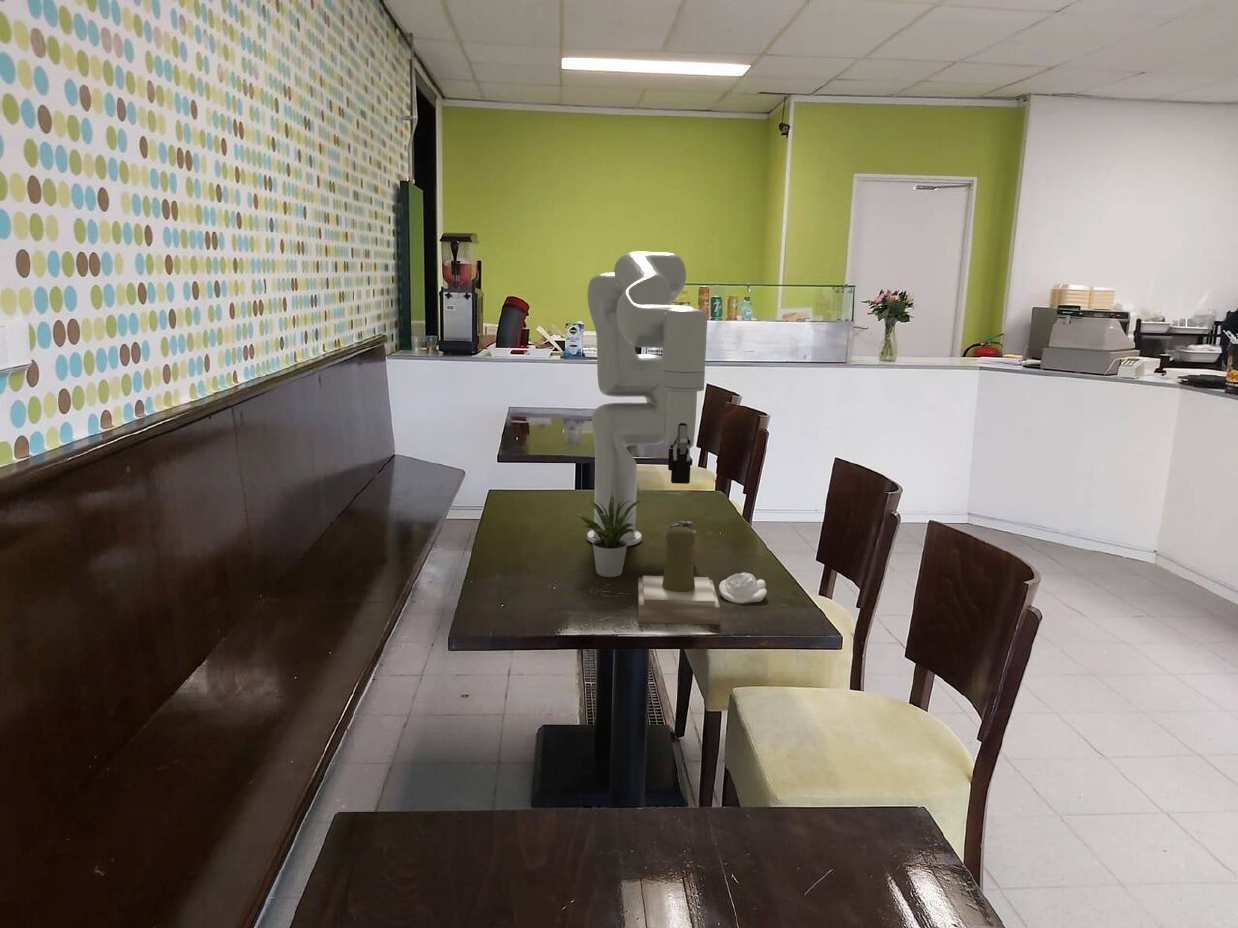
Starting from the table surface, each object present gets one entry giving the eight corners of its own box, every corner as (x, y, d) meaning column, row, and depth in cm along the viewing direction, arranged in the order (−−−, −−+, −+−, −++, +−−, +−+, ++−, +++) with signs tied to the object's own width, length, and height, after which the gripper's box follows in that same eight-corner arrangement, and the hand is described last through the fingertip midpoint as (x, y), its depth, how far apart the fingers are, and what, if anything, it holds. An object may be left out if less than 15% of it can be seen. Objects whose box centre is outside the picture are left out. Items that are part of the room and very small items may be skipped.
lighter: (686, 562, 184) (688, 516, 182) (698, 566, 182) (700, 520, 180) (661, 570, 178) (662, 523, 176) (673, 574, 176) (675, 527, 174)
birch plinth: (638, 593, 164) (638, 574, 164) (711, 595, 164) (712, 575, 164) (638, 622, 151) (639, 600, 150) (718, 624, 151) (720, 602, 150)
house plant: (622, 556, 187) (624, 483, 183) (660, 574, 175) (663, 497, 172) (565, 566, 179) (566, 490, 175) (601, 587, 168) (603, 505, 164)
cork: (687, 594, 154) (690, 534, 151) (656, 588, 156) (658, 529, 154) (699, 584, 159) (702, 526, 157) (669, 578, 161) (671, 522, 159)
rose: (779, 574, 165) (751, 586, 158) (778, 596, 166) (750, 609, 159) (736, 562, 171) (707, 573, 164) (735, 583, 172) (706, 595, 165)
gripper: (659, 374, 158) (655, 465, 162) (663, 386, 141) (659, 488, 145) (699, 375, 158) (695, 466, 162) (709, 388, 141) (704, 489, 145)
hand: (678, 476), depth 153 cm, fingers open, 9 cm apart
